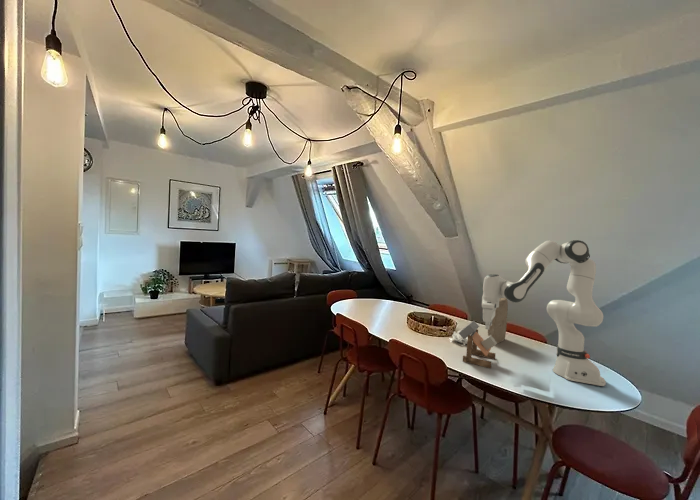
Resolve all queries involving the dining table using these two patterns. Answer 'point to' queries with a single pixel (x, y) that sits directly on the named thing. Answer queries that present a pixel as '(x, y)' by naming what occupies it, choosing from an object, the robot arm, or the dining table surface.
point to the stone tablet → (499, 321)
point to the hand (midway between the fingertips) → (488, 327)
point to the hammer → (474, 336)
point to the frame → (473, 350)
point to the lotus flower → (458, 338)
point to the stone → (488, 342)
